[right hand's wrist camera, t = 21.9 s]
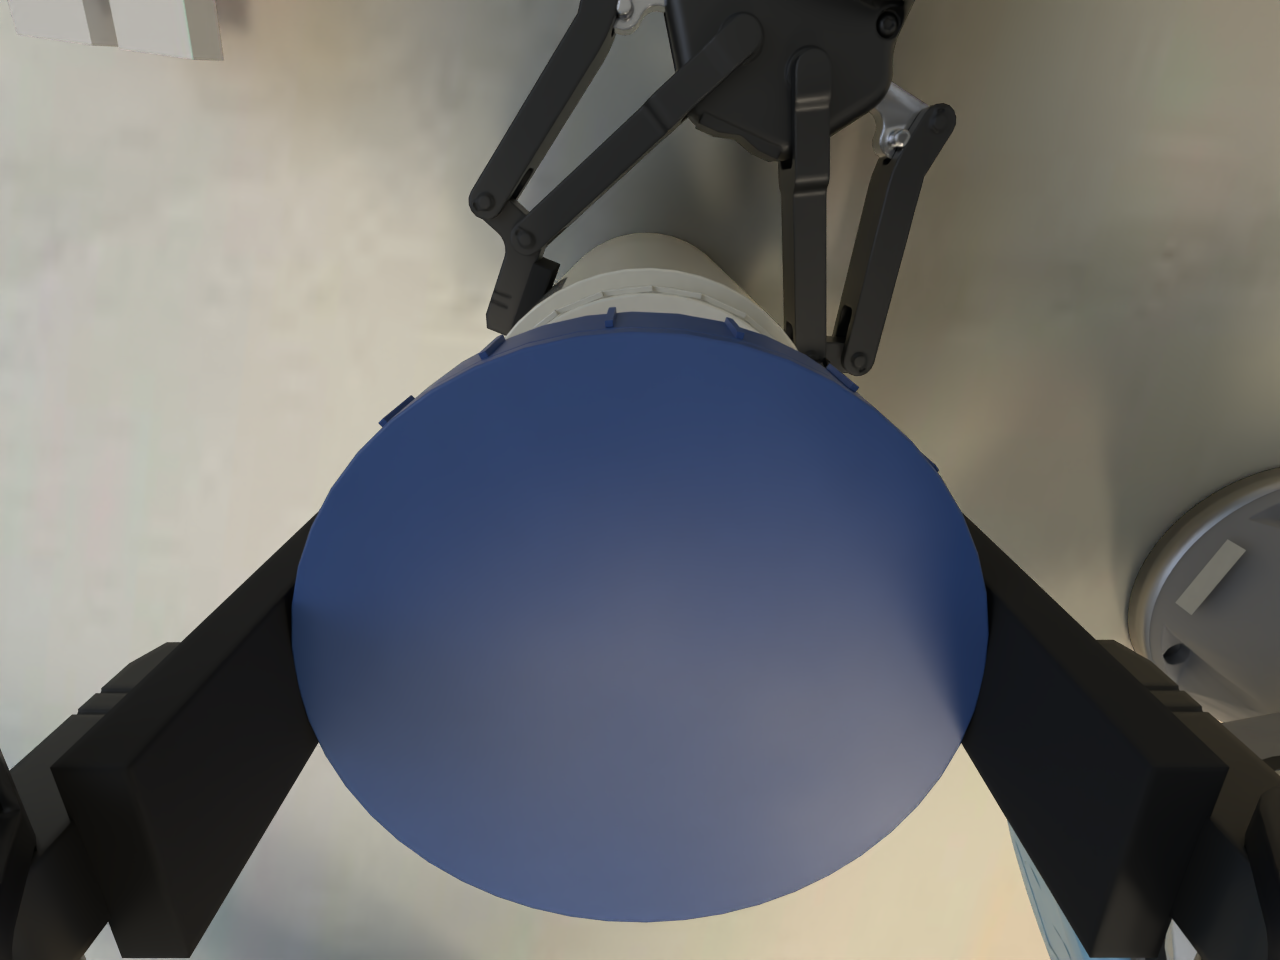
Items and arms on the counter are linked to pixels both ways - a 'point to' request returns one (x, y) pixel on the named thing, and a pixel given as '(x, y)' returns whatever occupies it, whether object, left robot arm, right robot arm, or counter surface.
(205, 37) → the toy
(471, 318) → the counter surface
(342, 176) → the counter surface
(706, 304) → the jar
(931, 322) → the counter surface
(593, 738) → the lid
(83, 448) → the counter surface
